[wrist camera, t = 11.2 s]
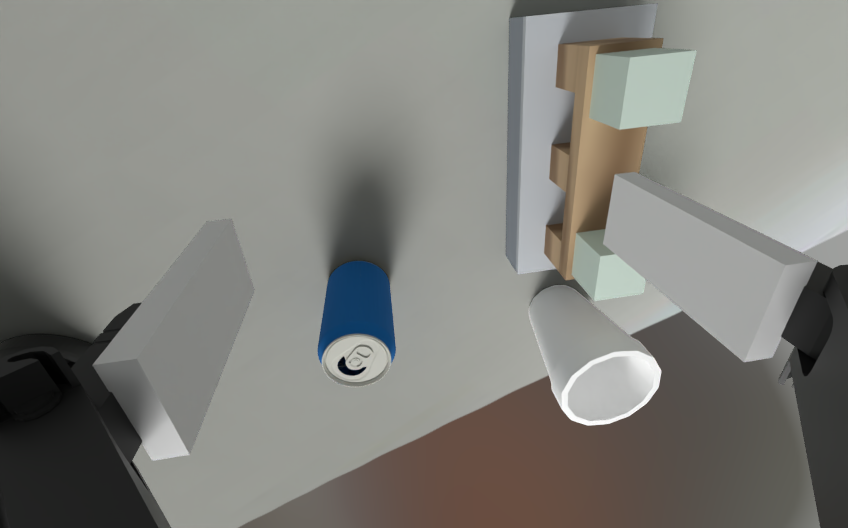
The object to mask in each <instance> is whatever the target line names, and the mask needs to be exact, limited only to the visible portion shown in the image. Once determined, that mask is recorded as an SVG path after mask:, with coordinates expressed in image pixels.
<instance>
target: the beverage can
mask: <svg viewBox="0 0 848 528" xmlns="http://www.w3.org/2000/svg"><path fill="white" fill-rule="evenodd" d="M395 351H396V347H395V336H394V325H393V314H392V304H391V293H390V283H389V279H388V277H387V275H386V274H385V272H384V271H383V270H382V269H381V268H380V267H378V266H377V265H375V264H372V263H370V262H366V261H352V262H348V263H345V264H343V265H341V266H339V267H338V268H337V269H335V270H334V272H333V273H332V274H331V276H330V278H329V280H328V285H327V291H326V298H325V304H324V311H323V318H322V324H321V331H320V337H319V344H318V356H319V360H320V362H321V364H322V368H323V370H324V372H325V374H326V375H327V376H328V377H329V378H330V379H331V380H332V381H334V382H336V383H338V384H340V385H343V386H347V387H363V386H368V385H371V384H373V383H375V382H377V381H379V380H380V379H381V378H383V377H384V376H385V375H386V373H387V372H388V370H389V368H390V366H391V363H392V361H393V359H394V356H395Z"/></svg>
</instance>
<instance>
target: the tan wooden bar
mask: <svg viewBox="0 0 848 528" xmlns="http://www.w3.org/2000/svg"><path fill="white" fill-rule="evenodd" d="M662 44H663V38H628V37H621V38H611V39H602V40H593V41H583V42H574V43H564V44H558V57H557V71H556V86H555V87H557V88H560V89H563V90H567V91H570V92H573V93H575V98H574V109H573V120H572V131H571V142H569V143H561V144H552V145H551V158H550V173H549V179H550V180H551V181H552V182H554V183H555V184H556V185H557V186H558V187H560V188H561V189H562V190H563V191H565V192H566V196H565V207H564V218H563V223H559V224H552V225H546V231H545V246H544V254H545V255H546V256H547V258H548V259H549V260H550V261H551V263H552V264H553V265H554V266H555V268H556V269H557V270H558V271H559V273H560V274H561V275H562V276H563V278H564V279H565V280H571V279H575V278H574V277H573V276H572V266H573V257H574V248H575V239H576V233H580V232H587V231H594V230H602V229H606V223H607V217H608V211H609V205H610V199H611V193H612V187H613V181H614V176H615V174H621V173H630V172H636V173H638V174H639V170H640V165H641V159H642V154H643V148H644V143H645V137H646V132H647V126H646V127H638V128H629V129H621V130H619V129H616V128H614V127H611V126H609V125H606V124H603V123H601V122H598V121H596V120H593V119H591V118H589V113H590V104H591V95H592V86H593V77H594V68H595V59H596V54H602V53H611V52H621V51H630V50H639V49H648V48H662Z"/></svg>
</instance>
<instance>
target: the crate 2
mask: <svg viewBox="0 0 848 528" xmlns="http://www.w3.org/2000/svg"><path fill="white" fill-rule="evenodd" d="M604 235H605V229H602V230H594V231H587V232H580V233H576V239H575V248H574V257H573V266H572V276H573V277H574V278H575V279H576V281H577V282H578V283H579V284H580V285H581V286H582V288H583V289H584V290H585V291H586V292H587V294H588V295H589V296H590V297H591V298H592V300H593V301H598V300H605V299H611V298H618V297H625V296H632V295H639V294H643V291H644V287H645V282H646V279H644V278H643V277H642V276H641V275H640V274H638V273H637V272H636V271H635V270H634V269H632V268H631V267H630V266H629V265H628V264H626V263H625V262H624V261H623V260H622V259H621V258H619V257H618V256H617V255H616V254H615V253H613V252H612V251H611V250H610V249H609V248H607V247H606V246H605V245H604V244H603V241H604Z"/></svg>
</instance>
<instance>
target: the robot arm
mask: <svg viewBox="0 0 848 528" xmlns="http://www.w3.org/2000/svg"><path fill="white" fill-rule="evenodd" d="M603 244H604V245H605V246H606V247H607V248H609V249H610V250H611V251H612V252H613V253H615V254H616V255H617V256H618V257H619V258H621V259H622V260H623V261H624V262H625V263H626V264H628V265H629V266H630V267H631V268H632V269H634V270H635V271H636V272H637V273H638V274H640V275H641V276H642V277H643V278H644V279H646V280H647V281H648V282H649V283H650V284H652V285H653V286H654V287H655V288H656V289H657V290H659V291H660V292H661V293H662V294H663V295H665V296H666V297H667V298H668V299H669V300H671V301H672V302H673V303H674V304H675V305H677V306H678V307H679V308H680V309H681V310H683V311H684V312H685V313H686V314H687V315H689V316H690V317H691V318H692V319H693V320H694V321H696V322H697V323H698V324H699V325H701V326H702V327H703V328H704V329H705V330H707V331H708V332H709V333H710V334H711V335H712V336H714V337H715V338H716V339H717V340H718V341H719V342H721V343H722V344H723V345H724V346H725V347H727V348H728V349H729V350H730V351H732V352H733V353H734V354H735V355H736V356H737V357H739V358H740V359H741V360H742V361H743V362H748V361H754V360H760V359H766V358H772V357H773V355H774V353H775V350H776V349H777V346H778V344H779V342H780V340H781V338H782V337H783V338H784V339H785V340H787V341H788V342H790V343H791V344H792V345H794V346H795V347H794V349H793V351H792V353H791V355H790V357H789V359H788V361H787V363H786V365H785V367H784V369H783V371H782V373H781V375H780V377H779V380H778V383H779V384H782V385H783V384H784V383H785V381H786V379H788V378H791V377H792V378H793V385H792V387H793V388H795V394H796V398H797V404H798V409H799V415H800V421H801V425H802V431H803V437H804V442H805V447H806V453H807V458H808V463H809V468H810V474H811V479H812V485H813V490H814V495H815V501H816V506H817V511H818V517H819V522H820V527H821V528H848V265H840V266H838V267H835V268H834V269H832V268H830V267H828V266H826V265H823V264H822V263H819V262H818V261H817V260H815V259H813V258H811V257H809V256H807V255H805V254H803V253H801V252H799V251H797V250H795V249H793V248H791V247H788V246H786V245H784V244H782V243H780V242H778V241H776V240H774V239H772V238H770V237H768V236H766V235H764V234H762V233H760V232H758V231H756V230H753V229H751V228H749V227H747V226H745V225H743V224H741V223H739V222H737V221H735V220H733V219H731V218H729V217H727V216H725V215H723V214H721V213H719V212H716V211H714V210H712V209H710V208H708V207H706V206H704V205H702V204H700V203H698V202H696V201H694V200H692V199H690V198H688V197H686V196H684V195H681V194H679V193H677V192H675V191H673V190H671V189H669V188H667V187H665V186H663V185H661V184H659V183H657V182H655V181H653V180H651V179H649V178H647V177H644V176H642V175H640V174H638V173H636V172H630V173H621V174H615V176H614V181H613V187H612V193H611V199H610V205H609V211H608V217H607V223H606V229H605V235H604V241H603ZM254 290H255V289H254V286H253V283H252V280H251V277H250V274H249V271H248V268H247V265H246V261H245V258H244V255H243V252H242V249H241V246H240V243H239V240H238V237H237V234H236V231H235V228H234V225H233V221H232V219H224V220H215V221H207V222H206V223H205V225H204V226H203V227H202V228H201V230H200V231H199V232H198V233H197V235H196V236H195V237H194V238H193V240H192V241H191V242H190V243H189V245H188V246H187V247H186V248H185V250H184V251H183V252H182V253H181V255H180V256H179V257H178V258H177V260H176V261H175V262H174V263H173V265H172V266H171V267H170V268H169V270H168V271H167V272H166V273H165V275H164V276H163V277H162V278H161V280H160V281H159V282H158V283H157V285H156V286H155V287H154V288H153V290H152V291H151V292H150V293H149V295H148V296H147V297H146V298H145V300H144V301H143V302H142V303H136V304H133V305H131V306H130V307H128V308H127V309H125V310H124V311H123V312H121V313H120V314H118V315H117V316H115V317H114V319H113V320H112V321H111V322H110V323H109V324H108V326H107V327H106V328H105V329H104V330H103V333H101V334H100V335H99V336H98V337H97V338H96V340H95V341H94V342H93V343H94V345H92V344H89V343H86V342H83V341H80V340H77V339H73V338H69V337H64V336H57V335H45V334H36V335H25V336H19V337H15V338H12V339H9V340H6V341H4V342H2V343H0V528H171V527H170V525H169V523H168V521H167V519H166V518H165V516H164V514H163V512H162V511H161V509H160V507H159V505H158V504H157V502H156V500H155V498H154V497H153V495H152V493H151V491H150V489H149V488H148V486H147V484H146V482H145V481H144V479H143V477H142V475H141V474H140V472H139V470H138V469H137V467H136V466H135V464H134V463H133V461H132V460H133V458H134V456H135V454H136V452H137V450H138V448H139V446H140V445H141V443H142V445H143V447H144V448H145V450H146V451H147V453H148V454H149V456H150V458H151V459H152V461H154V460H160V459H166V458H172V457H178V456H184V455H190V452H191V450H192V447H193V445H194V442H195V440H196V437H197V435H198V432H199V430H200V427H201V425H202V422H203V420H204V417H205V414H206V412H207V409H208V407H209V404H210V402H211V399H212V397H213V394H214V392H215V389H216V387H217V384H218V382H219V379H220V376H221V374H222V371H223V369H224V366H225V364H226V361H227V359H228V356H229V354H230V351H231V349H232V346H233V344H234V341H235V339H236V336H237V333H238V331H239V328H240V326H241V323H242V321H243V318H244V316H245V313H246V311H247V308H248V306H249V303H250V301H251V298H252V295H253V293H254Z"/></svg>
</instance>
